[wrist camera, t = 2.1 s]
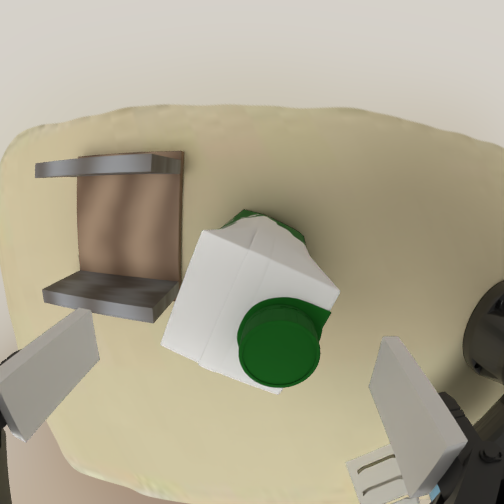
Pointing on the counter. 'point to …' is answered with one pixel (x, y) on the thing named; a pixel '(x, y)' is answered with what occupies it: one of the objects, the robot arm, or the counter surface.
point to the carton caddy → (123, 233)
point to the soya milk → (252, 304)
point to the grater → (378, 478)
